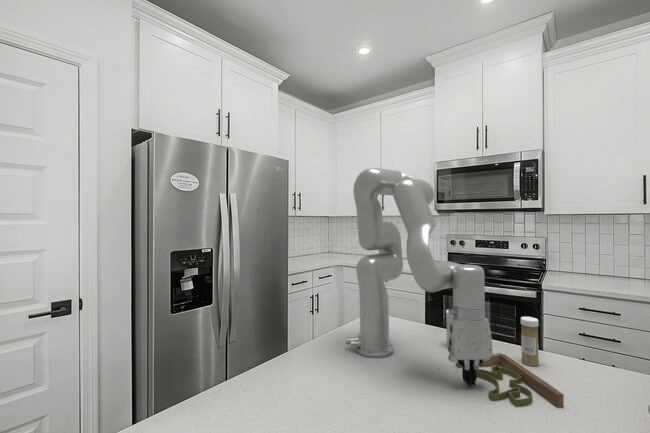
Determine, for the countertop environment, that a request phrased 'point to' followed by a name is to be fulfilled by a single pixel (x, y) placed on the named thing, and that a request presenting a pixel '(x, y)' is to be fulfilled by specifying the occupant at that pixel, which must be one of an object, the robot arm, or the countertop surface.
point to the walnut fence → (526, 378)
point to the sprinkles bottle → (529, 341)
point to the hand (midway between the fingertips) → (469, 383)
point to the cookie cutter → (514, 384)
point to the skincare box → (448, 322)
